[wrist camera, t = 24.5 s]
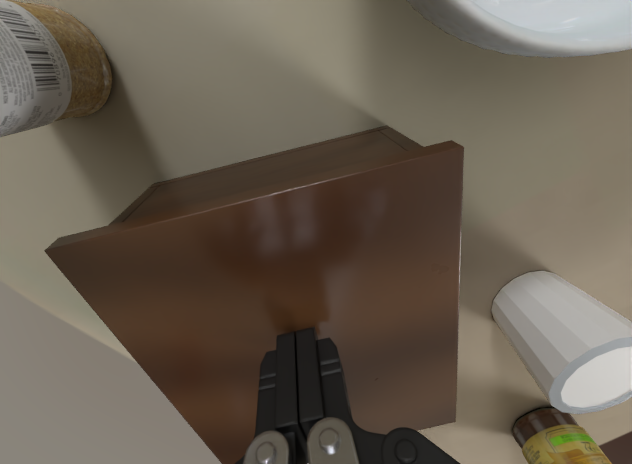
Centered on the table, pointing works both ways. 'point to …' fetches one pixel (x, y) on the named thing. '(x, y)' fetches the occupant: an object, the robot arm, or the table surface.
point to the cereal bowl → (535, 25)
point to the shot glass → (567, 341)
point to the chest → (268, 171)
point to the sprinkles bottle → (47, 67)
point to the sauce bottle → (555, 439)
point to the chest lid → (291, 291)
